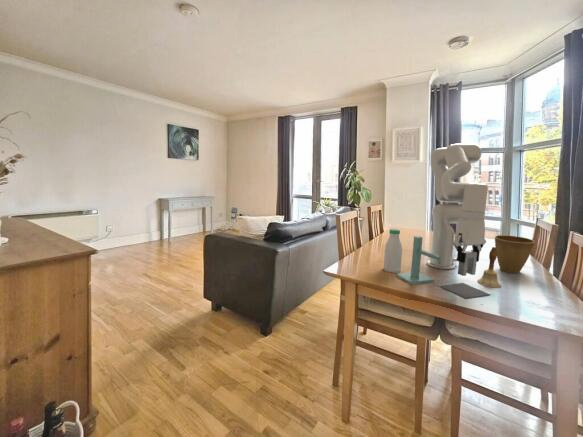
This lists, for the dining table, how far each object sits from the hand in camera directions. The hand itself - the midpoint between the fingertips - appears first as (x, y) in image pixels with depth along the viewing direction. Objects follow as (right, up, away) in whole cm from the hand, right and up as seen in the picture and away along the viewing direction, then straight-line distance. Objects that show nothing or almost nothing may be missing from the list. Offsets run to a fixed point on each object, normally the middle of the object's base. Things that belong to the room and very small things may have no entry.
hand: (467, 260), depth 107 cm
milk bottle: (-20, -9, +25) cm, 33 cm away
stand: (-13, -11, +11) cm, 20 cm away
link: (0, -5, +1) cm, 5 cm away
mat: (0, -12, +2) cm, 12 cm away
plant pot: (+38, -9, +27) cm, 47 cm away
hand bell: (+15, -11, +10) cm, 22 cm away
